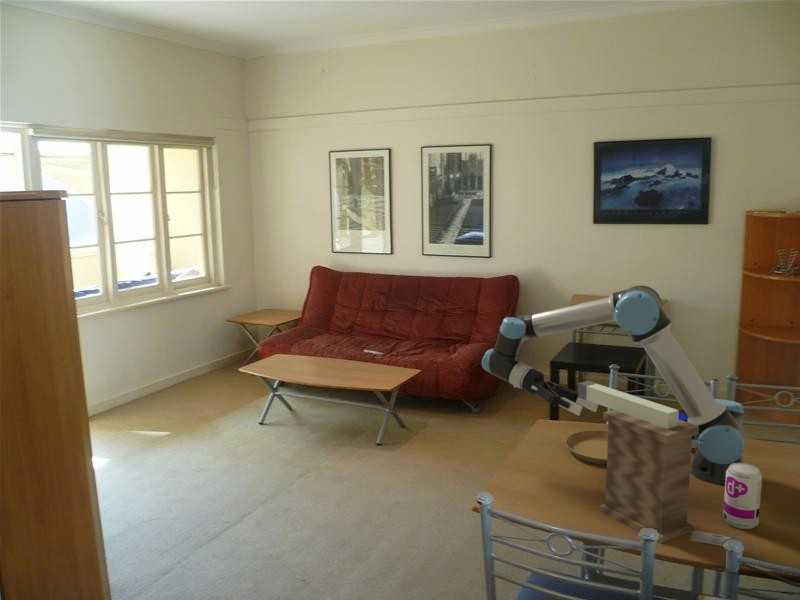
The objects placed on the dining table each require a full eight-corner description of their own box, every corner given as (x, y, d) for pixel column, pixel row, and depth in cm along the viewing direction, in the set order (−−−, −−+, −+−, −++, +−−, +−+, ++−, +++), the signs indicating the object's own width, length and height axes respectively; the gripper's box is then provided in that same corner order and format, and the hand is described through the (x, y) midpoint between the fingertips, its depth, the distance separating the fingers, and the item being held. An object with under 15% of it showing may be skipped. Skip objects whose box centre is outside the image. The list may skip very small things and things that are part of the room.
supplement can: (742, 533, 169) (747, 477, 167) (716, 518, 177) (719, 465, 174) (765, 526, 172) (769, 471, 170) (738, 512, 180) (741, 459, 177)
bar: (577, 397, 190) (578, 383, 190) (588, 394, 193) (588, 380, 192) (667, 429, 165) (667, 413, 164) (678, 425, 167) (679, 409, 166)
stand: (599, 510, 182) (603, 412, 177) (630, 499, 188) (634, 404, 183) (661, 543, 165) (666, 436, 160) (692, 530, 171) (698, 426, 166)
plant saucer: (633, 474, 205) (633, 464, 204) (556, 459, 217) (556, 449, 216) (647, 447, 225) (648, 437, 225) (576, 434, 237) (576, 426, 237)
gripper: (539, 388, 218) (598, 417, 206) (504, 391, 198) (568, 425, 186) (547, 366, 217) (608, 395, 205) (513, 368, 197) (578, 400, 185)
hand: (589, 409), depth 195 cm, fingers open, 13 cm apart
